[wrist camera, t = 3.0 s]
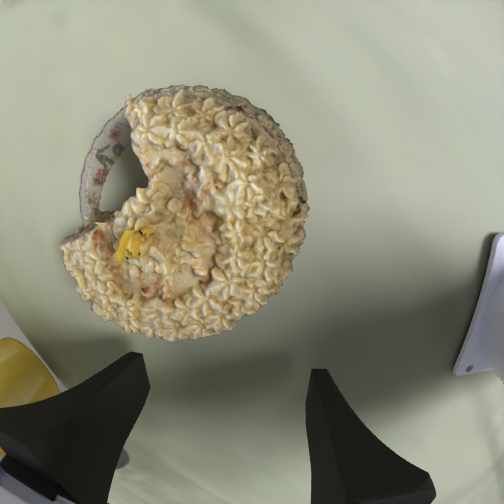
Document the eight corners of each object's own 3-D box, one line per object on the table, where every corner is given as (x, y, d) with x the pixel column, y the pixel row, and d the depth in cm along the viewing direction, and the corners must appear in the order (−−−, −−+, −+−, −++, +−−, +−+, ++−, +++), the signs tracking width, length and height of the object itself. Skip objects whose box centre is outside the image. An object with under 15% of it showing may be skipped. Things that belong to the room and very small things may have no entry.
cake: (351, 160, 11) (413, 179, 6) (236, 343, 15) (226, 429, 10) (136, 54, 10) (65, 16, 5) (63, 252, 13) (-5, 303, 8)
